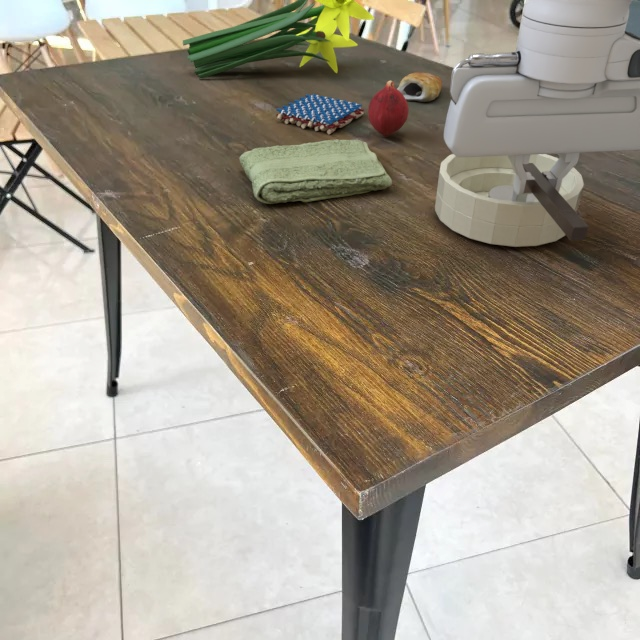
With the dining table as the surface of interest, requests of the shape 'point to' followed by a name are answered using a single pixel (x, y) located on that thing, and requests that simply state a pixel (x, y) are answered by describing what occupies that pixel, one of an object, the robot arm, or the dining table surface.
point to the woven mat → (320, 113)
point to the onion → (388, 110)
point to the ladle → (546, 203)
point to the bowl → (498, 201)
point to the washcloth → (313, 171)
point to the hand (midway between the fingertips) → (535, 191)
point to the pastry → (420, 87)
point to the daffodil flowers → (278, 36)
